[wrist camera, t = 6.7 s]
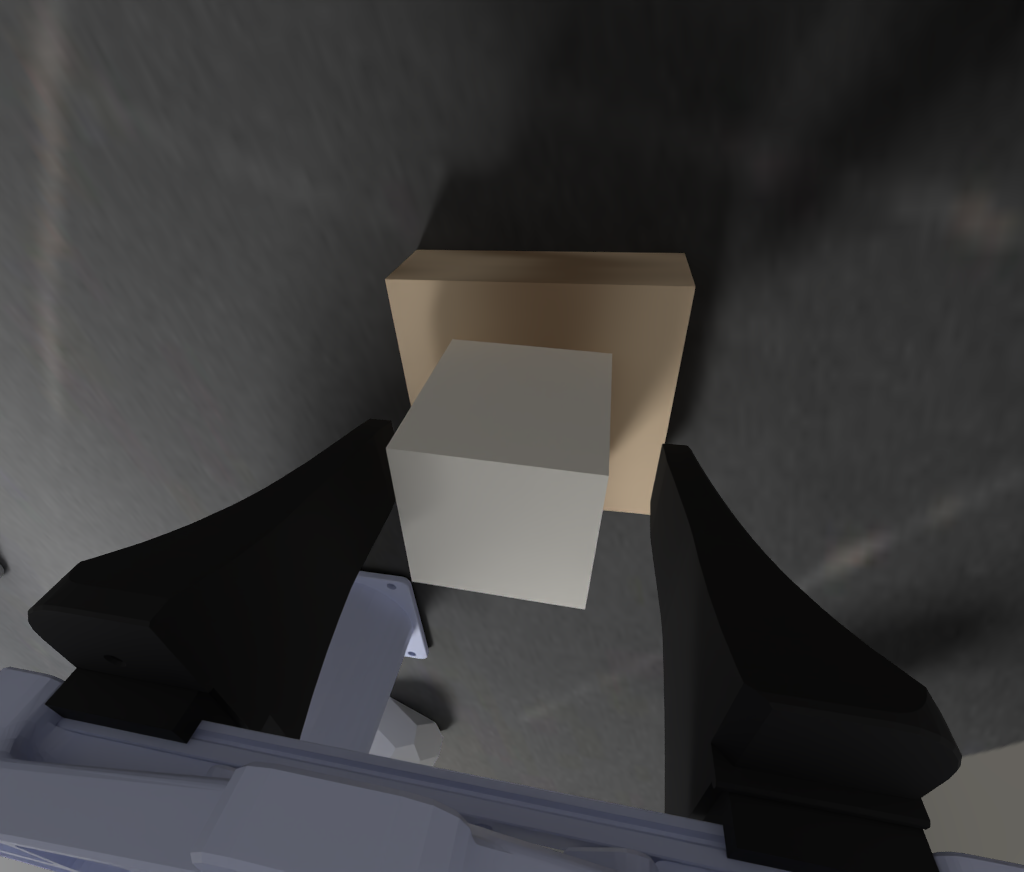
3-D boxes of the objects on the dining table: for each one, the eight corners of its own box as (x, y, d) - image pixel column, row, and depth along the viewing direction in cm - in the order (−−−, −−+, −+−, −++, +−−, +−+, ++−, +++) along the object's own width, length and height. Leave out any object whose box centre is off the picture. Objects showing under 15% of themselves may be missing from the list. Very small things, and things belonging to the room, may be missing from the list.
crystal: (341, 726, 31) (214, 770, 44) (397, 828, 30) (251, 842, 43) (418, 658, 37) (287, 714, 50) (465, 741, 37) (320, 776, 50)
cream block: (461, 459, 16) (411, 581, 13) (452, 338, 14) (385, 447, 10) (593, 475, 16) (585, 609, 12) (612, 353, 13) (609, 475, 9)
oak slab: (450, 442, 20) (428, 492, 18) (420, 245, 15) (385, 279, 13) (647, 458, 19) (650, 514, 16) (683, 248, 14) (695, 286, 12)
